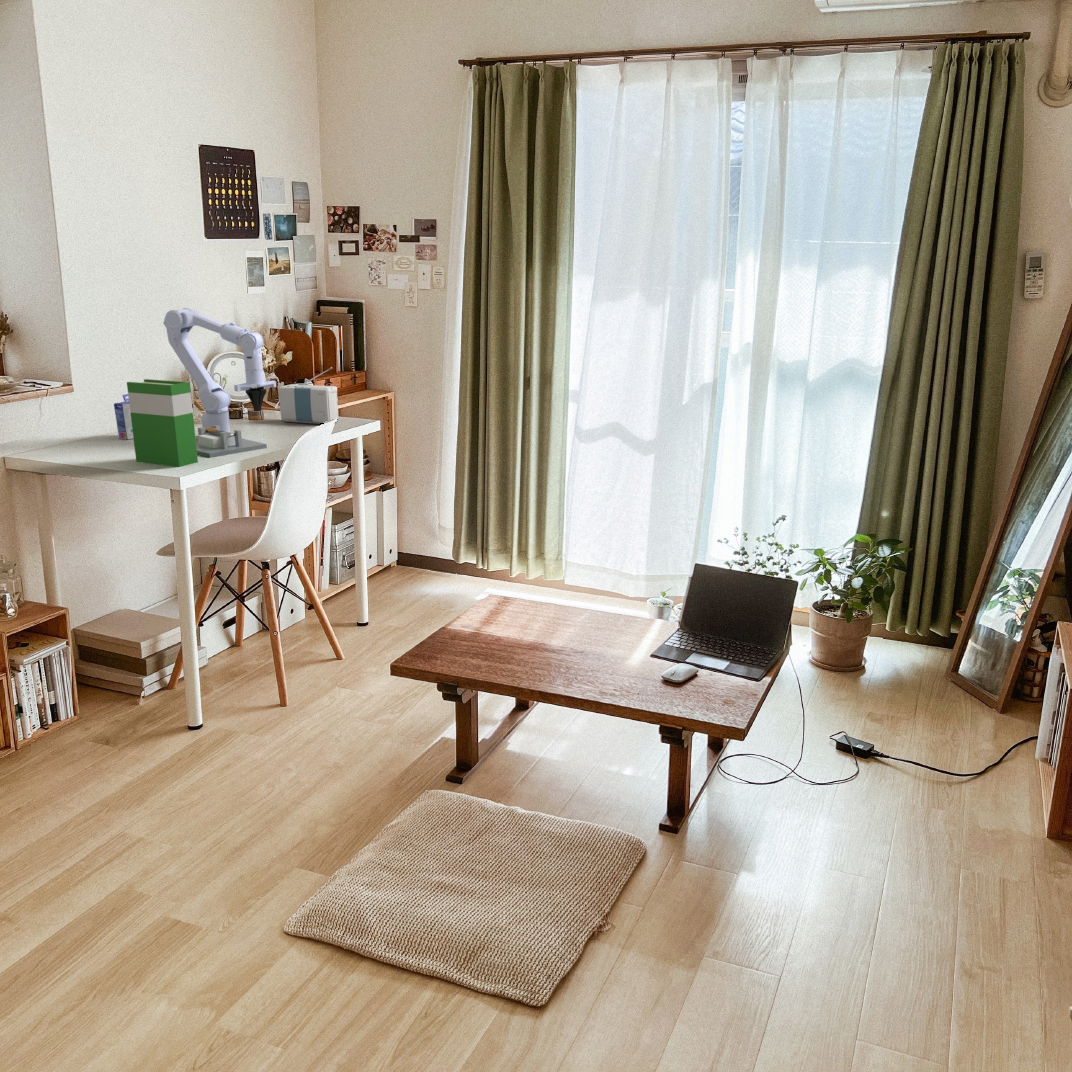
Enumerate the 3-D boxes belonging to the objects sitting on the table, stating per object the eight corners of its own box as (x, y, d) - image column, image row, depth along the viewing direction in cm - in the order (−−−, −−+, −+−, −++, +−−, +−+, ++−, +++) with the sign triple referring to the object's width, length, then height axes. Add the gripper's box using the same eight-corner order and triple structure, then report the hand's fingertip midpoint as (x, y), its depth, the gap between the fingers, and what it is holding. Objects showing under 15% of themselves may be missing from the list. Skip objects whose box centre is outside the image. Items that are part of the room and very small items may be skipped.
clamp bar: (203, 432, 333) (203, 428, 332) (212, 431, 335) (211, 427, 335) (227, 437, 323) (226, 433, 323) (236, 436, 325) (235, 431, 325)
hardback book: (136, 461, 311) (126, 382, 305) (155, 457, 318) (146, 379, 311) (179, 467, 304) (170, 385, 297) (197, 462, 310) (189, 382, 303)
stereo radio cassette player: (280, 422, 375) (275, 367, 370) (293, 419, 383) (289, 364, 377) (328, 426, 368) (325, 369, 362) (341, 422, 375) (338, 367, 369)
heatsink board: (174, 448, 331) (172, 429, 329) (230, 439, 345) (228, 420, 343) (210, 457, 316) (208, 437, 315) (266, 447, 330) (265, 428, 328)
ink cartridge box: (142, 434, 356) (137, 392, 352) (152, 435, 353) (147, 393, 349) (117, 438, 348) (111, 395, 344) (127, 440, 345) (122, 397, 341)
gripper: (241, 372, 331) (244, 414, 335) (279, 368, 341) (283, 409, 345) (229, 371, 336) (233, 412, 339) (268, 366, 346) (271, 407, 349)
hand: (257, 410), depth 342 cm, fingers closed
